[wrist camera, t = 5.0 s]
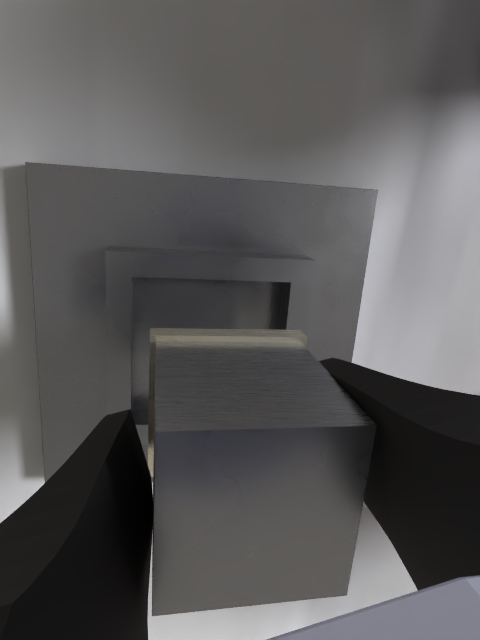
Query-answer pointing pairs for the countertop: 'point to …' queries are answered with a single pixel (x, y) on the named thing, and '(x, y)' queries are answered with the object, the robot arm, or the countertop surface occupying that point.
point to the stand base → (177, 278)
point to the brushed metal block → (250, 470)
